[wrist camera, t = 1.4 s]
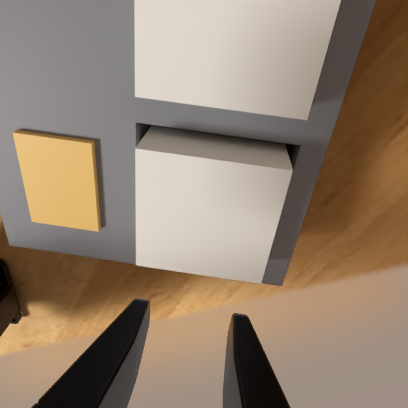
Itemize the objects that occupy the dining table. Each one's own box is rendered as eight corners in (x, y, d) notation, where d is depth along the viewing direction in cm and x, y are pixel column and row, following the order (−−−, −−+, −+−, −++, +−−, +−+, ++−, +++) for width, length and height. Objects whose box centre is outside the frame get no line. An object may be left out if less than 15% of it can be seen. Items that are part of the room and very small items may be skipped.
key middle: (152, 80, 13) (135, 96, 11) (157, -116, 10) (133, -147, 8) (296, 100, 13) (307, 120, 10) (345, -93, 10) (374, -119, 8)
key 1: (149, 231, 17) (135, 265, 15) (151, 125, 14) (135, 148, 12) (258, 247, 17) (261, 284, 14) (285, 144, 14) (293, 170, 11)
